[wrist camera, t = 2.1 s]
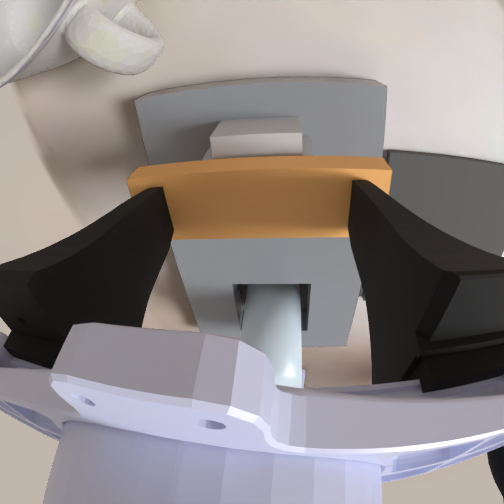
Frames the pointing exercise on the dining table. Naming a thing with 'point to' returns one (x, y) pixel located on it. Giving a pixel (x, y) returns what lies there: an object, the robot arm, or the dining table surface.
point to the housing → (262, 145)
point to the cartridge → (276, 328)
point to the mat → (452, 195)
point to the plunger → (261, 194)
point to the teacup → (75, 36)
